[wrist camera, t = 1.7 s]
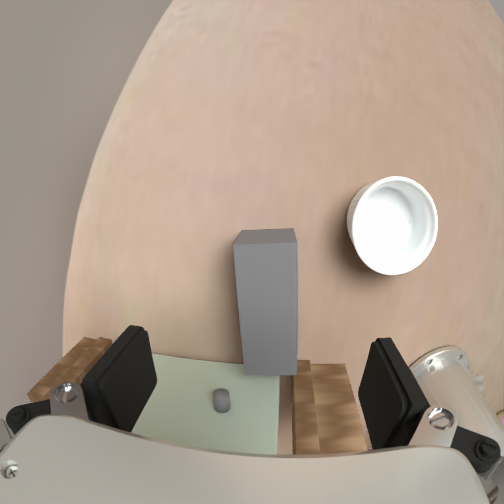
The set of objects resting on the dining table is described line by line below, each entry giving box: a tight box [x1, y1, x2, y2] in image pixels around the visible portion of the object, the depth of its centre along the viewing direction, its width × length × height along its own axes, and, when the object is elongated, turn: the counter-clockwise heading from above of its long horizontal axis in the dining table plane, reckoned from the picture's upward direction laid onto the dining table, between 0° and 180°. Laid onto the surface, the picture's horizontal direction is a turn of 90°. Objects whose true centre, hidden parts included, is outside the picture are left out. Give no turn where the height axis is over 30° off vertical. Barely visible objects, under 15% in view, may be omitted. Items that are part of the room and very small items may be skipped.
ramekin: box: [347, 176, 438, 275], centre depth 24 cm, size 9×9×4 cm
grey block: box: [233, 228, 298, 376], centre depth 27 cm, size 5×13×6 cm, turn 4°
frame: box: [27, 337, 368, 455], centre depth 26 cm, size 35×2×14 cm, turn 90°
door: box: [131, 353, 280, 454], centre depth 26 cm, size 22×3×13 cm, turn 90°
